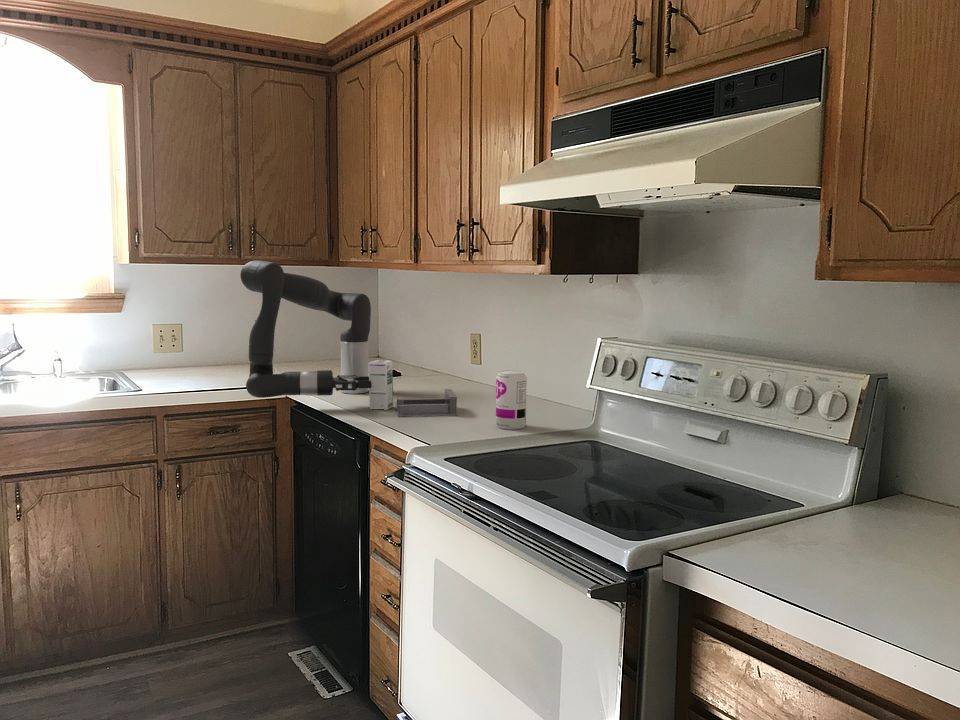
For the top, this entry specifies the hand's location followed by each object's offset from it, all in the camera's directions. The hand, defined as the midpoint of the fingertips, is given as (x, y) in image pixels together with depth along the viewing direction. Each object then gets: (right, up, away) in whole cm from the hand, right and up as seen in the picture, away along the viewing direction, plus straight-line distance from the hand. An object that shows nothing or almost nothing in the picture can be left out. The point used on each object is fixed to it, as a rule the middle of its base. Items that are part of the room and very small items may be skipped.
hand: (371, 382), depth 244 cm
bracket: (+17, -9, -3) cm, 19 cm away
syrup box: (+3, -8, +1) cm, 9 cm away
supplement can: (+41, -12, -24) cm, 49 cm away
